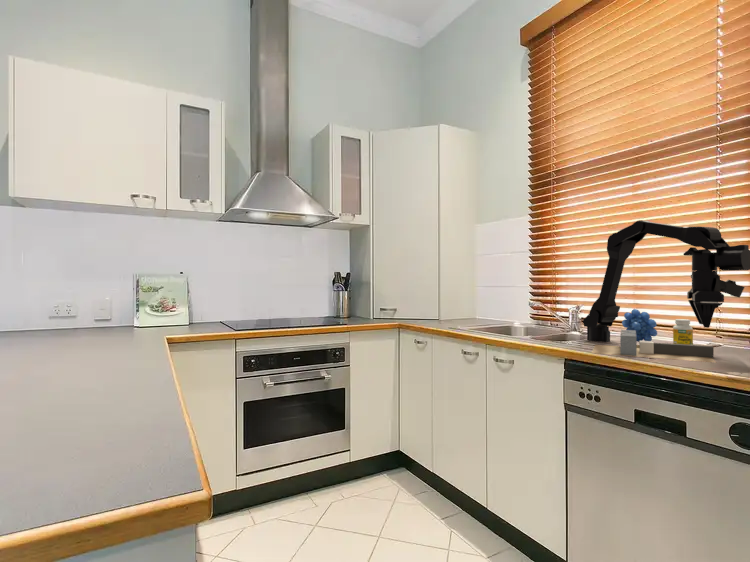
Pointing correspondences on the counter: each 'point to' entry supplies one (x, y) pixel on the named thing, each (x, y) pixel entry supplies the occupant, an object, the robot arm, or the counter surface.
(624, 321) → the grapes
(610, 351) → the mounting board
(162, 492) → the counter surface
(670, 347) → the grey and white bar
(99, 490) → the counter surface
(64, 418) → the counter surface
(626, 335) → the grey boxy piece
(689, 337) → the supplement bottle
